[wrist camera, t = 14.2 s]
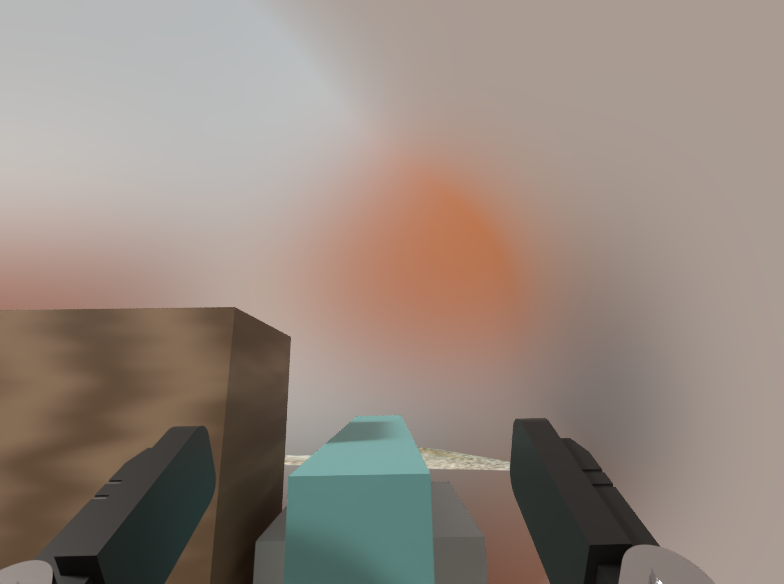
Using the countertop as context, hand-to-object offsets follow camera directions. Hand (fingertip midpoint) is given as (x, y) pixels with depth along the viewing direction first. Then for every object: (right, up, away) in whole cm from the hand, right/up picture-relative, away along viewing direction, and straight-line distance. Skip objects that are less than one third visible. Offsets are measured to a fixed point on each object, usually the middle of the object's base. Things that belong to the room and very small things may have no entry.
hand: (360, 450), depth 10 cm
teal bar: (0, -8, +11) cm, 14 cm away
